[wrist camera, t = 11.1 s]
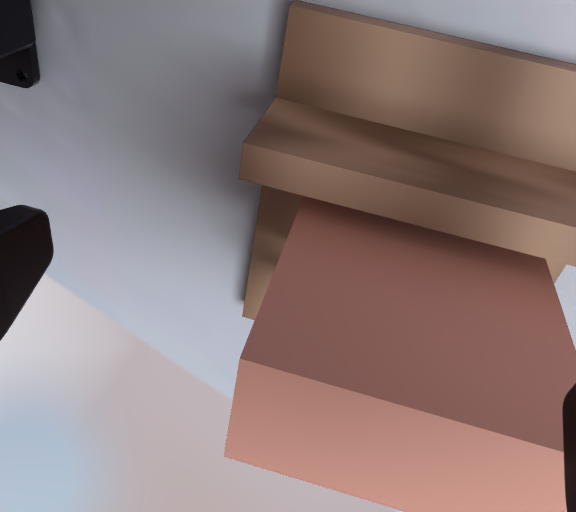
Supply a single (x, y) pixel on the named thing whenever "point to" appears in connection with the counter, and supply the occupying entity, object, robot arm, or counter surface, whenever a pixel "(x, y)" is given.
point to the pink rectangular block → (406, 368)
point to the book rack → (414, 138)
